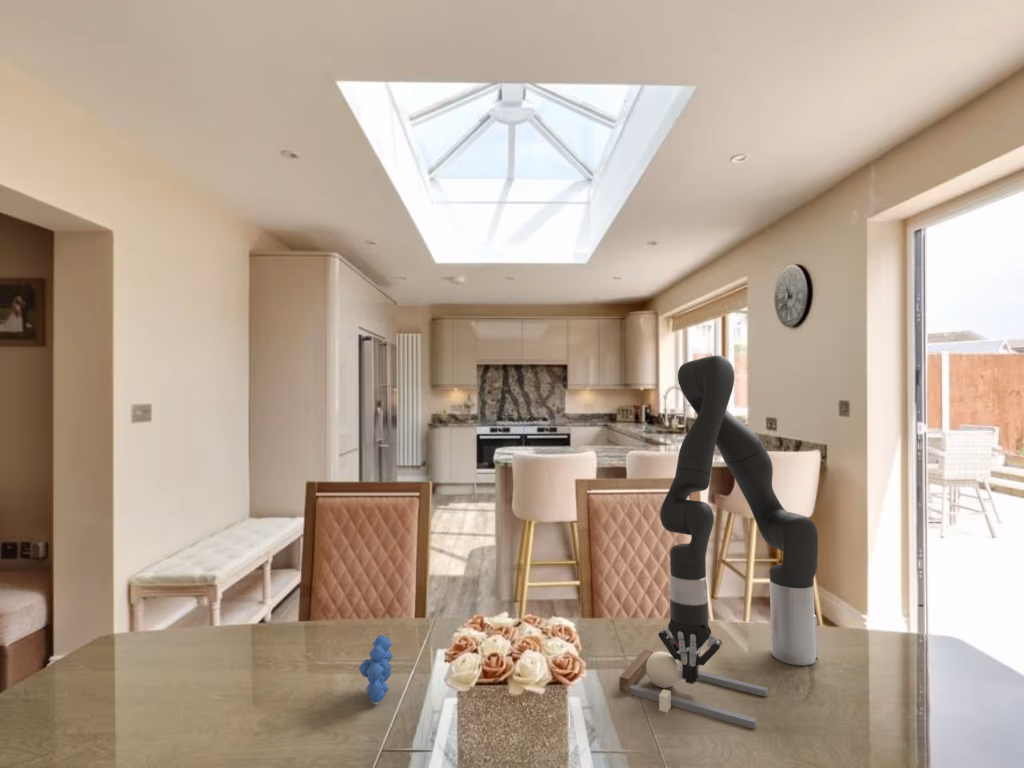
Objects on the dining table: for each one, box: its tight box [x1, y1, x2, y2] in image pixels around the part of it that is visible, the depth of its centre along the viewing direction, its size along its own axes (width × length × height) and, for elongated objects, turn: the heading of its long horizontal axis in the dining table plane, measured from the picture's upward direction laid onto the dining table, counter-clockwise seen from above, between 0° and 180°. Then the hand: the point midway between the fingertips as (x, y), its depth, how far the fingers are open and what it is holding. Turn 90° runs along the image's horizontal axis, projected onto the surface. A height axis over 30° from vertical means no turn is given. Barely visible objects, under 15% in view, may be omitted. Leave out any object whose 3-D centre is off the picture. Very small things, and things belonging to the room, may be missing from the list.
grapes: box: [358, 634, 394, 704], centre depth 116 cm, size 12×7×12 cm, turn 179°
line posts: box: [658, 688, 672, 714], centre depth 118 cm, size 2×20×3 cm, turn 147°
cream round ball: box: [646, 651, 683, 689], centre depth 119 cm, size 7×7×7 cm
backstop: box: [619, 648, 654, 695], centre depth 123 cm, size 2×15×3 cm, turn 147°
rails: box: [628, 666, 769, 730], centre depth 116 cm, size 24×14×1 cm, turn 57°
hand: (690, 681), depth 117 cm, fingers closed
